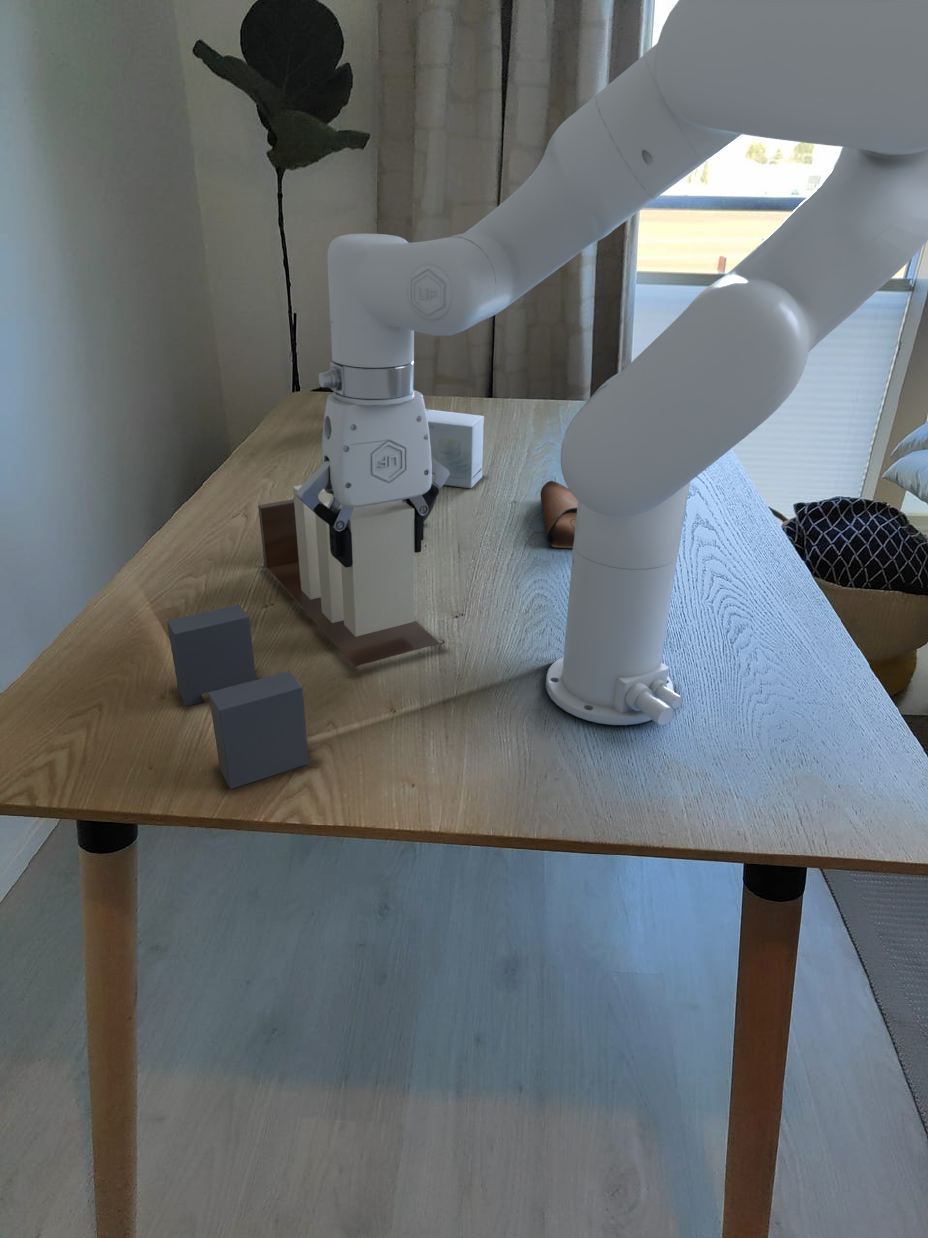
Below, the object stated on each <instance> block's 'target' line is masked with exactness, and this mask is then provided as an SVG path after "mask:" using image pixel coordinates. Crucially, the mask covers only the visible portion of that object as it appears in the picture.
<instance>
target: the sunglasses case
mask: <svg viewBox="0 0 928 1238" xmlns="http://www.w3.org/2000/svg"><path fill="white" fill-rule="evenodd" d="M540 503H541V508H542V515H543V523H544V531H545V538H546V541H547V542H548V544H549V545H550V546H551V547H552V548H553V549H563V550H573V543H574V535H575V524H576V515H577V507H578V500H577V499H576V498H575V497H574V496H573V494H572V493H571V492H570V490H569V488H568V487H567V486H565V485H563V484H561V483H560V482H557V481H553V480H549V481H547V482H546V483H544V484H543V486H542V488H541V489H540Z"/></svg>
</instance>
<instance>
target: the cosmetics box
mask: <svg viewBox="0 0 928 1238" xmlns="http://www.w3.org/2000/svg"><path fill="white" fill-rule="evenodd" d="M425 409H426V414H427V420H428V427H429V435H430V446H431V457H433V458H434V459H435V460H437V461H438V462H439V463H440V464H442V465H443V466H444V467H446V468H447V469H448V470H449V471H450V476H449V477H448V479H447V480H446V482H445V483H444V485H443V486H450V487H456V488H464V489H472V488H473V487H474V486H475V485H476V484H477V483H478V482H479V481H480V480H481V479H482V478H483V454H484V424H485V416H484V415H479V414H469V413H463V412H453V411H447V410H445V411H444V410H436V409H428V408H425Z"/></svg>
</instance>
